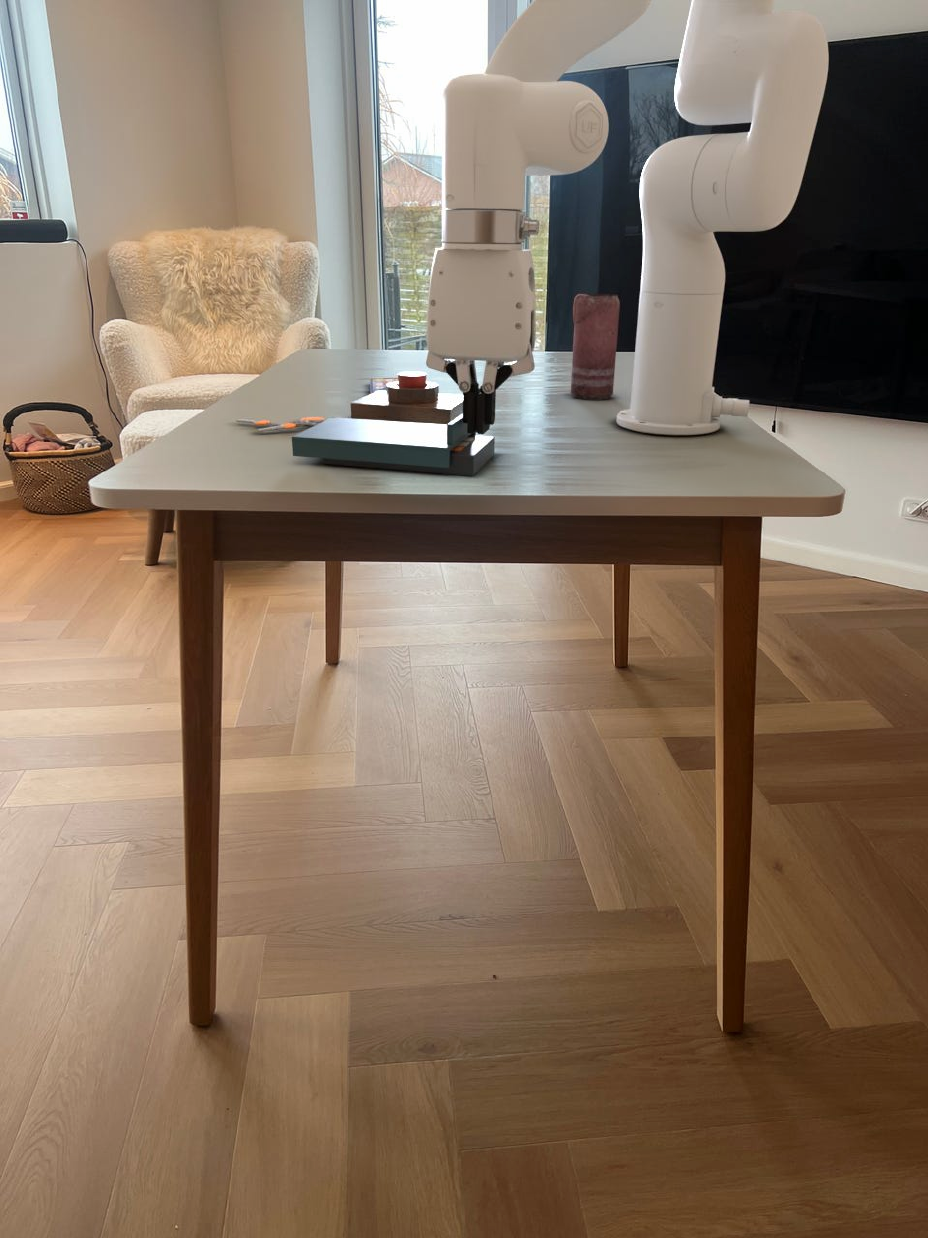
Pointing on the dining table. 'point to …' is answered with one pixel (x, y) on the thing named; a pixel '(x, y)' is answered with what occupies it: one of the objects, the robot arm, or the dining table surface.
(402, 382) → the timer button
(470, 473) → the calculator
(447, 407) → the block
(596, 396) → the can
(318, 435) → the cover
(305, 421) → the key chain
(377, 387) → the smartphone
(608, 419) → the dining table surface
